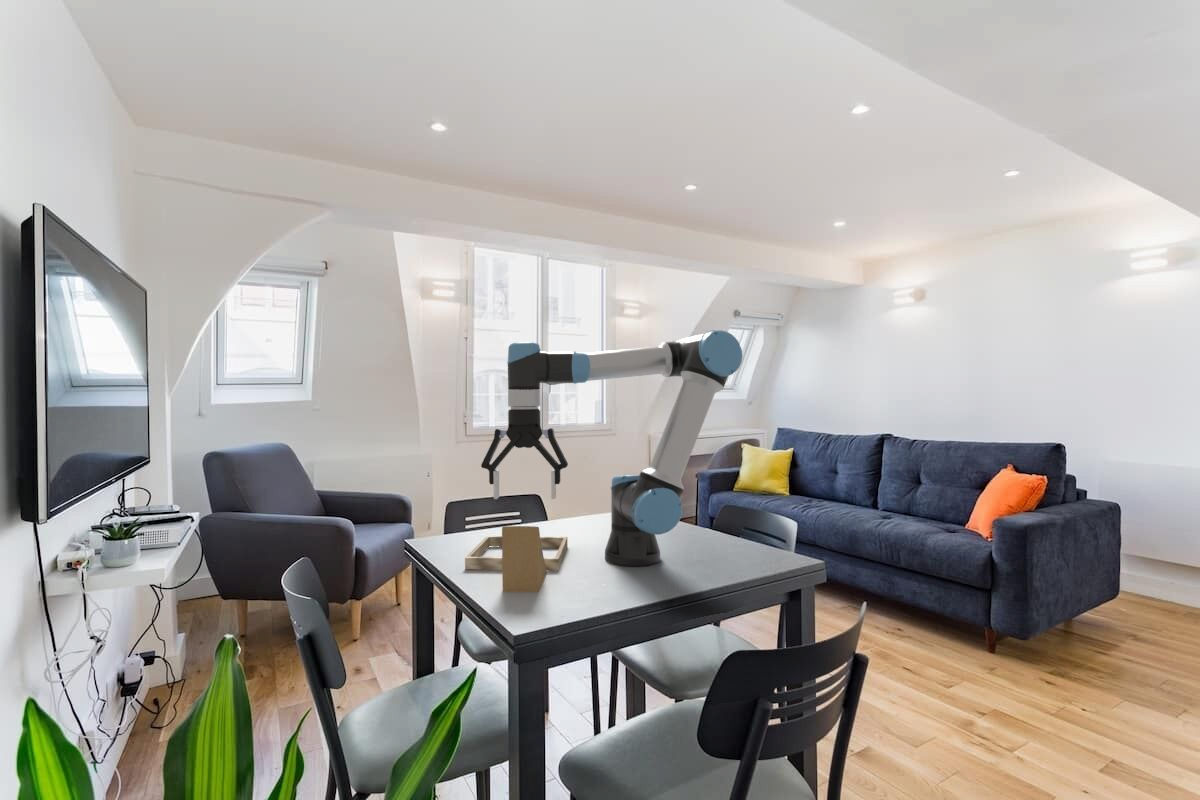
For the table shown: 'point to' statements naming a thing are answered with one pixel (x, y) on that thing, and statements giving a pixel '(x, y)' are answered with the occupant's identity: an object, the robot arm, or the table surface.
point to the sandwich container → (522, 559)
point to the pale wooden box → (495, 563)
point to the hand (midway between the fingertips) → (525, 498)
